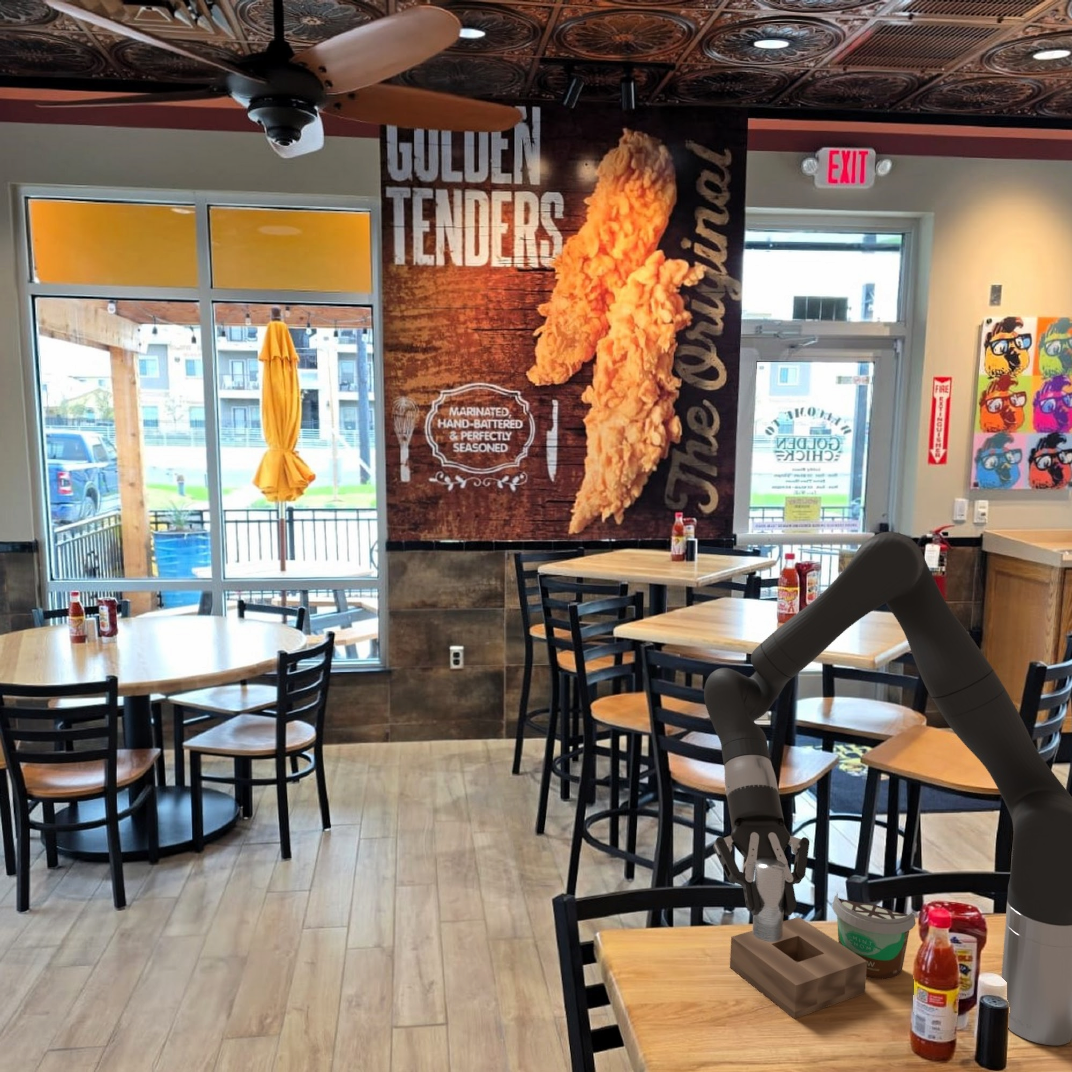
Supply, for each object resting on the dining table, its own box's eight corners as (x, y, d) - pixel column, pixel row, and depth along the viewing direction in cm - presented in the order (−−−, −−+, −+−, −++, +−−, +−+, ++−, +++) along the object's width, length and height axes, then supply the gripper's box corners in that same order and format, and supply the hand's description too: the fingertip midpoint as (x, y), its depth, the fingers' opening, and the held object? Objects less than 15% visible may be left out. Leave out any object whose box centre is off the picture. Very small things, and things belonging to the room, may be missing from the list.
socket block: (797, 946, 145) (798, 916, 145) (865, 993, 133) (866, 961, 132) (729, 967, 139) (731, 936, 138) (794, 1018, 126) (796, 985, 126)
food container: (823, 969, 139) (826, 907, 138) (830, 950, 144) (833, 891, 143) (908, 993, 133) (912, 929, 132) (912, 972, 139) (916, 910, 138)
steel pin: (768, 923, 126) (771, 855, 125) (788, 937, 123) (791, 867, 122) (746, 930, 125) (749, 861, 124) (766, 944, 121) (768, 873, 120)
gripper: (709, 782, 129) (726, 905, 118) (806, 782, 130) (832, 905, 119) (700, 803, 135) (715, 922, 124) (793, 803, 135) (817, 922, 124)
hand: (772, 913), depth 121 cm, fingers closed on steel pin, 4 cm apart
